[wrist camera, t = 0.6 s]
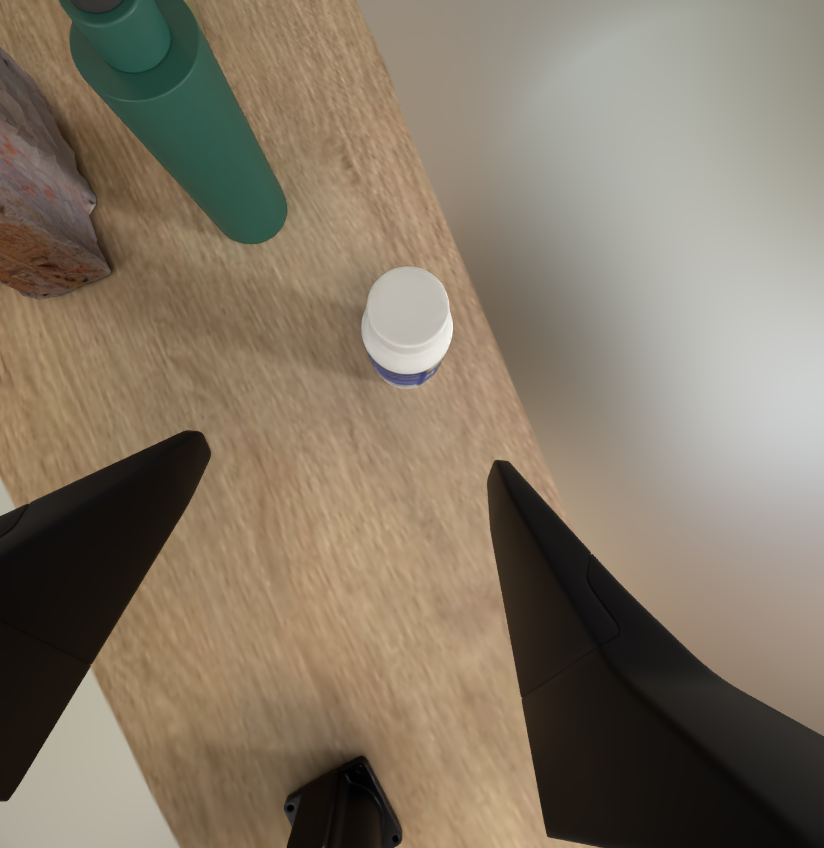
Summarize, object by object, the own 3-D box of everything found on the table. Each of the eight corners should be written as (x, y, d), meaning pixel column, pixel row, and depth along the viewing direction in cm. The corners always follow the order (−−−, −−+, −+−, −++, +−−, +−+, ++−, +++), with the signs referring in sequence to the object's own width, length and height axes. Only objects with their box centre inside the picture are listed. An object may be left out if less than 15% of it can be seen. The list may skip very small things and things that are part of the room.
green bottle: (299, 224, 23) (136, -101, 9) (233, 256, 23) (-39, -26, 9) (267, 161, 23) (54, -261, 9) (200, 192, 23) (-122, -189, 9)
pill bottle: (433, 395, 23) (452, 371, 14) (366, 382, 23) (342, 351, 14) (445, 327, 23) (471, 263, 14) (379, 315, 23) (363, 242, 14)
